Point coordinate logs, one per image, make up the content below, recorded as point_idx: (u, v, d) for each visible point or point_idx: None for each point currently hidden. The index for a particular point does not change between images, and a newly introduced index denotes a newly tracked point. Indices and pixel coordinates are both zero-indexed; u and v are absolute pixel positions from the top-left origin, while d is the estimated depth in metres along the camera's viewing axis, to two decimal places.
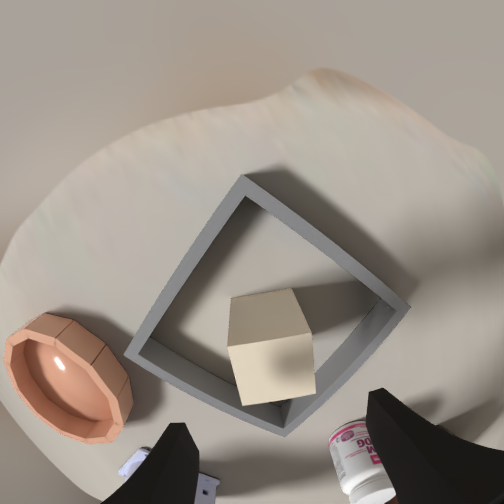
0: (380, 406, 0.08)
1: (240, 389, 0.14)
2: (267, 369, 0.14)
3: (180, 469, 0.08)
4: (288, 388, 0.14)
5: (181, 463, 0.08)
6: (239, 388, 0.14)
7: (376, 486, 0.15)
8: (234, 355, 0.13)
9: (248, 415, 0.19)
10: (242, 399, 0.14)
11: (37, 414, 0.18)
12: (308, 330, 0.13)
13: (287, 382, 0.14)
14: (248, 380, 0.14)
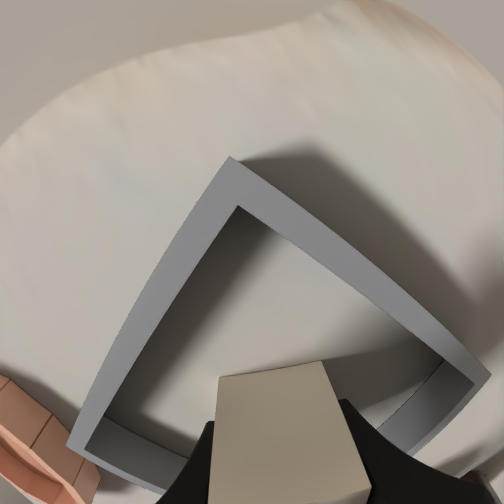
0: None
1: None
2: None
3: None
4: None
5: None
6: None
7: None
8: None
9: None
10: None
11: None
12: (365, 481, 0.05)
13: None
14: None
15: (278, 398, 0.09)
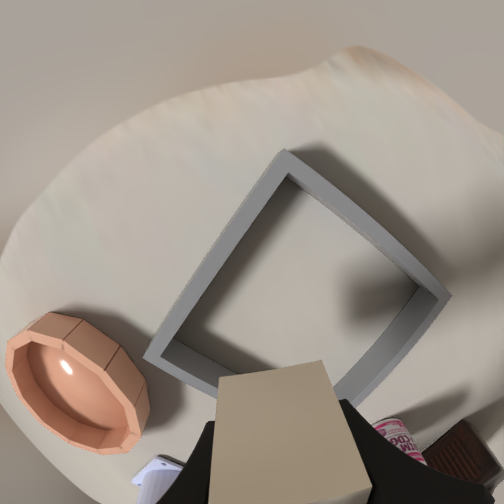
0: None
1: None
2: None
3: None
4: None
5: None
6: None
7: None
8: None
9: None
10: None
11: (43, 423, 0.17)
12: (366, 481, 0.05)
13: None
14: None
15: (278, 398, 0.09)
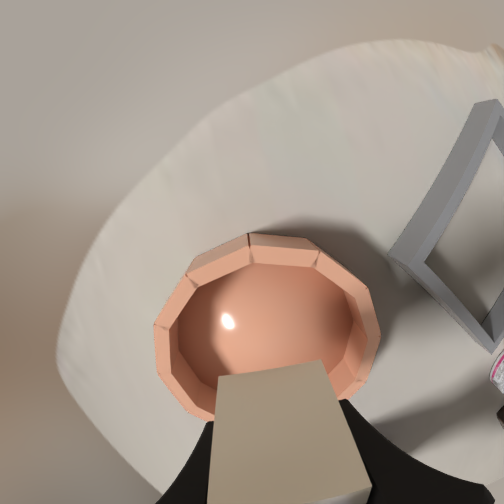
0: None
1: None
2: None
3: None
4: None
5: None
6: None
7: None
8: None
9: (481, 329, 0.15)
10: None
11: (195, 409, 0.15)
12: (365, 481, 0.05)
13: None
14: None
15: (278, 397, 0.09)
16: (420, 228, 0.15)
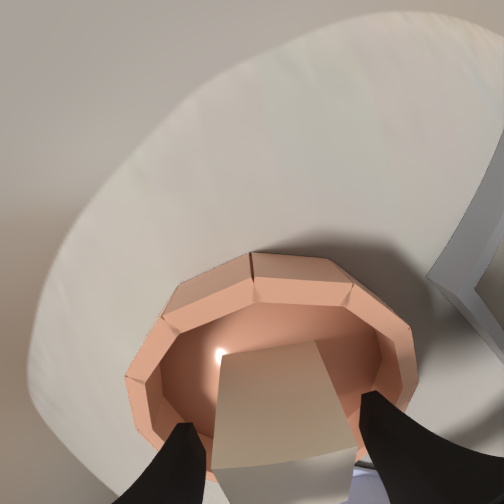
0: (372, 409, 0.08)
1: None
2: (278, 490, 0.07)
3: (188, 469, 0.08)
4: (308, 502, 0.07)
5: (189, 463, 0.08)
6: None
7: None
8: (224, 478, 0.06)
9: None
10: None
11: None
12: (352, 441, 0.06)
13: (308, 497, 0.07)
14: (247, 499, 0.07)
15: (275, 371, 0.10)
16: (469, 245, 0.10)
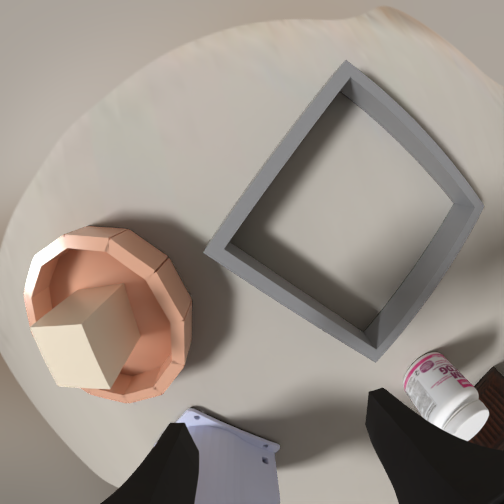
0: (380, 406, 0.08)
1: (50, 369, 0.13)
2: (61, 354, 0.12)
3: (180, 469, 0.08)
4: (84, 377, 0.13)
5: (181, 463, 0.08)
6: (49, 368, 0.13)
7: (473, 409, 0.13)
8: (36, 336, 0.12)
9: (344, 331, 0.17)
10: (55, 379, 0.13)
11: None
12: (81, 322, 0.12)
13: (80, 371, 0.13)
14: (52, 361, 0.12)
15: (89, 295, 0.16)
16: (228, 214, 0.16)
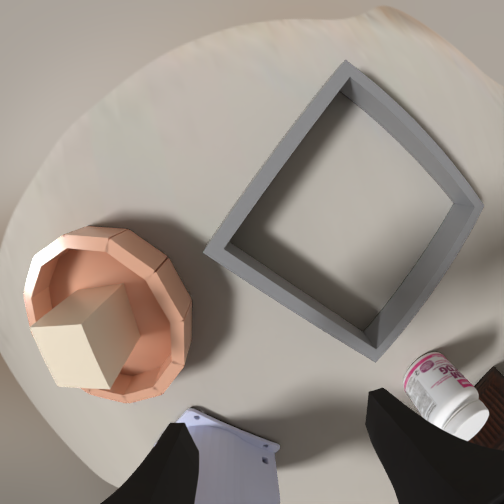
0: (380, 406, 0.08)
1: (50, 369, 0.13)
2: (61, 354, 0.12)
3: (180, 469, 0.08)
4: (84, 377, 0.13)
5: (181, 463, 0.08)
6: (49, 368, 0.13)
7: (473, 409, 0.13)
8: (36, 336, 0.12)
9: (343, 330, 0.17)
10: (55, 379, 0.13)
11: None
12: (81, 322, 0.12)
13: (80, 371, 0.13)
14: (51, 362, 0.12)
15: (89, 295, 0.16)
16: (227, 214, 0.16)
